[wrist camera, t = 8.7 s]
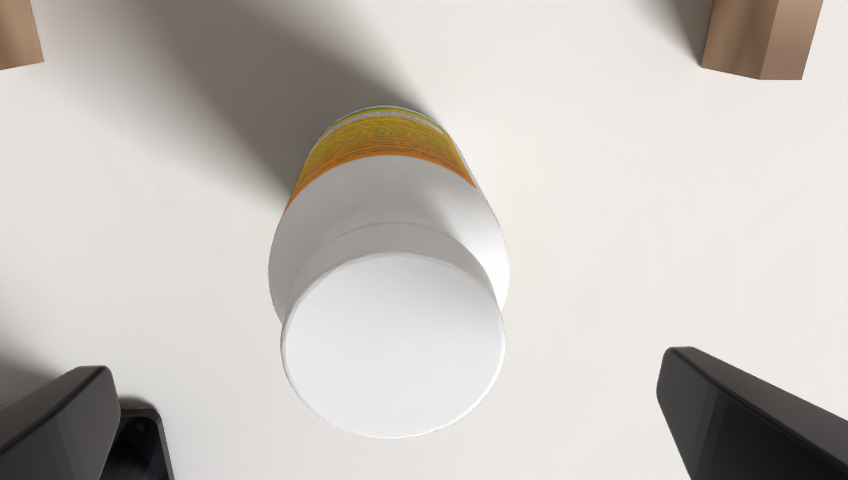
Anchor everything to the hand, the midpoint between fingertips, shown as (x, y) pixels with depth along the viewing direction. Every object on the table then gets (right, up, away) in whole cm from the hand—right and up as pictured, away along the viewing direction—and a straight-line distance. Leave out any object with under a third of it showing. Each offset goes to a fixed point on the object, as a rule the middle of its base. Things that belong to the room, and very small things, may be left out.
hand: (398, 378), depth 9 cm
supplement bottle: (-1, +4, +10) cm, 11 cm away
